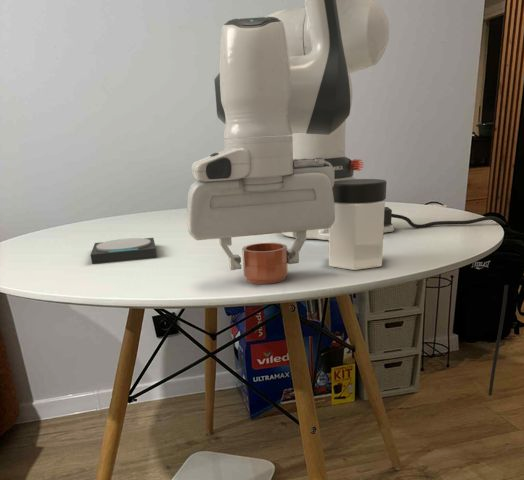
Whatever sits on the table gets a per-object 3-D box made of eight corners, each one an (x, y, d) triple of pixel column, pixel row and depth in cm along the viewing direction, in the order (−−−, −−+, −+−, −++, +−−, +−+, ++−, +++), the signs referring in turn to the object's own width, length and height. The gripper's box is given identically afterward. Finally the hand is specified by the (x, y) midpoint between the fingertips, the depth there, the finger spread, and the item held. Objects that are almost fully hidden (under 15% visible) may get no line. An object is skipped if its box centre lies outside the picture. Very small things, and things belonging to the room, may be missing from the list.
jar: (368, 254, 82) (371, 177, 77) (395, 265, 75) (400, 181, 70) (318, 261, 80) (318, 181, 75) (340, 272, 72) (341, 185, 68)
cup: (281, 271, 75) (280, 241, 73) (293, 281, 69) (292, 249, 68) (240, 275, 74) (238, 245, 72) (249, 286, 68) (247, 253, 66)
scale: (154, 245, 98) (153, 235, 97) (156, 257, 88) (155, 246, 87) (96, 251, 96) (94, 240, 95) (92, 263, 86) (89, 252, 85)
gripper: (326, 156, 70) (326, 254, 76) (180, 165, 66) (190, 268, 72) (343, 157, 64) (341, 263, 70) (184, 167, 60) (195, 278, 66)
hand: (264, 265), depth 71 cm, fingers open, 7 cm apart
